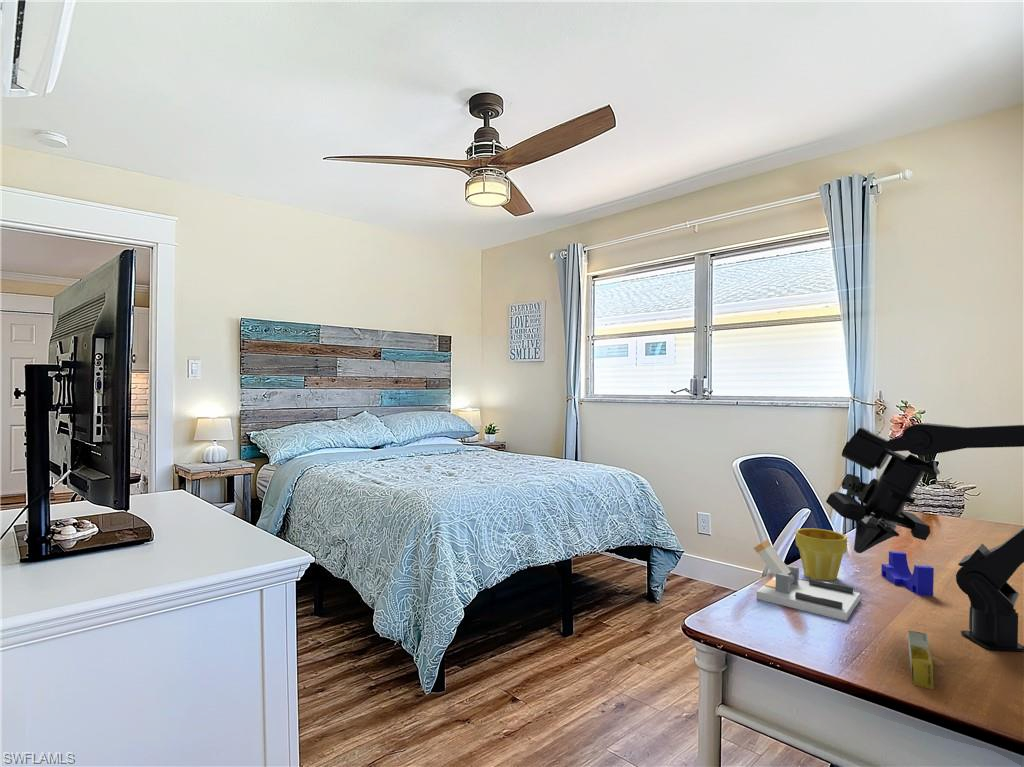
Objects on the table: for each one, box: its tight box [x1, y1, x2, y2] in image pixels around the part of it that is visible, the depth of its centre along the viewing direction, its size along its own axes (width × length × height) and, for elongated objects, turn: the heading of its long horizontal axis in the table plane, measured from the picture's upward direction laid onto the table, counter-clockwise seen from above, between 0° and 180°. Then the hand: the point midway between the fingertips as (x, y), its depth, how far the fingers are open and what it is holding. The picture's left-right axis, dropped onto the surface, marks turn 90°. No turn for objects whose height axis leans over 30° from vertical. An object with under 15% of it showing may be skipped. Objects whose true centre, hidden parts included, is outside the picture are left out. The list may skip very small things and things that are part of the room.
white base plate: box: [755, 564, 861, 622], centre depth 117 cm, size 16×14×5 cm
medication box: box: [907, 630, 934, 690], centre depth 88 cm, size 12×3×4 cm, turn 148°
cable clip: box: [880, 550, 935, 597], centre depth 127 cm, size 12×4×6 cm, turn 172°
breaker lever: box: [753, 539, 795, 584], centre depth 121 cm, size 2×5×9 cm
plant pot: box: [795, 527, 848, 582], centre depth 132 cm, size 10×10×10 cm
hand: (856, 551), depth 113 cm, fingers closed
